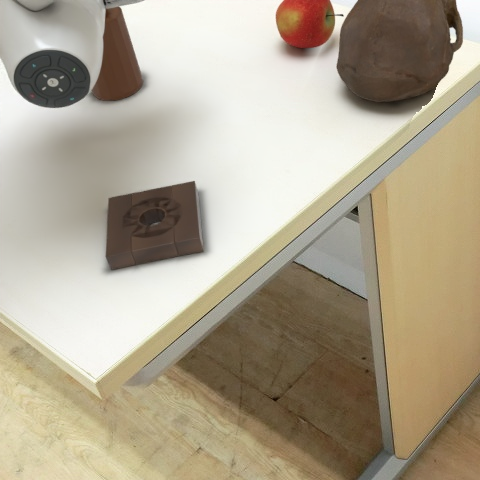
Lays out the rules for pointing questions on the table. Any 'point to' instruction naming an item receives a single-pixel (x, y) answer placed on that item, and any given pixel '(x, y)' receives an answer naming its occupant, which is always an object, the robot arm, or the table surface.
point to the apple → (306, 22)
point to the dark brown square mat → (155, 236)
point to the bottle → (117, 60)
